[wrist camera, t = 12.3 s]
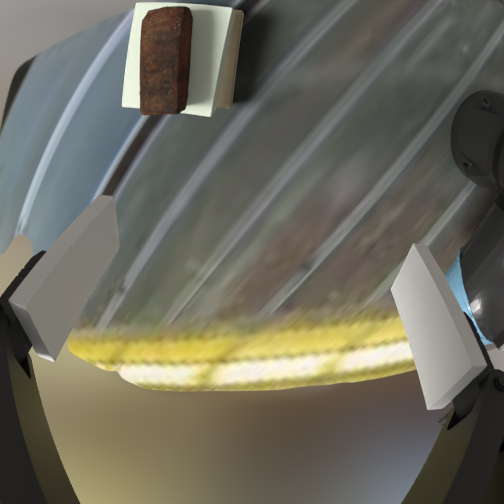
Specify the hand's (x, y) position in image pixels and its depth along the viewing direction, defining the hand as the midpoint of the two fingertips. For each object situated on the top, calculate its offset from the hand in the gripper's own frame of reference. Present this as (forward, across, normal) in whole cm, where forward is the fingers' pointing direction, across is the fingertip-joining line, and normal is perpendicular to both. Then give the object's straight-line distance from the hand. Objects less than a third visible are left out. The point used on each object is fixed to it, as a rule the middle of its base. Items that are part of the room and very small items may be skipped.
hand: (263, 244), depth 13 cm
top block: (+25, +11, -7) cm, 28 cm away
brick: (+21, +11, -6) cm, 25 cm away
